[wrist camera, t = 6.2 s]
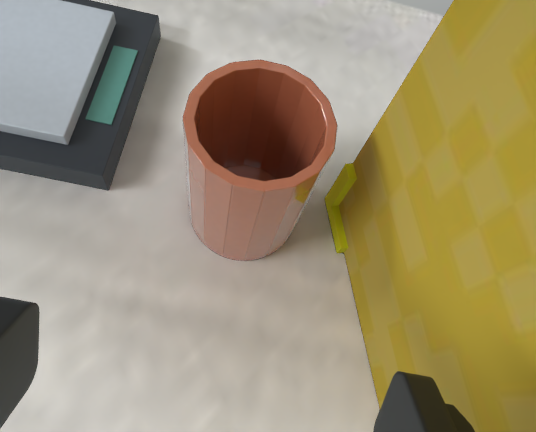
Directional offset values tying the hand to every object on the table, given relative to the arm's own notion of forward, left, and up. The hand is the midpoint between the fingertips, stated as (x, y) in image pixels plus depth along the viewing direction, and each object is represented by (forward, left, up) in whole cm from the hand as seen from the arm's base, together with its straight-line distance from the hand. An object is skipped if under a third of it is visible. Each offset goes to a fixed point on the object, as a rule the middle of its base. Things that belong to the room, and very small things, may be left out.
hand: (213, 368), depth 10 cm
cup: (0, +11, -16) cm, 20 cm away
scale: (-15, +17, -16) cm, 28 cm away
